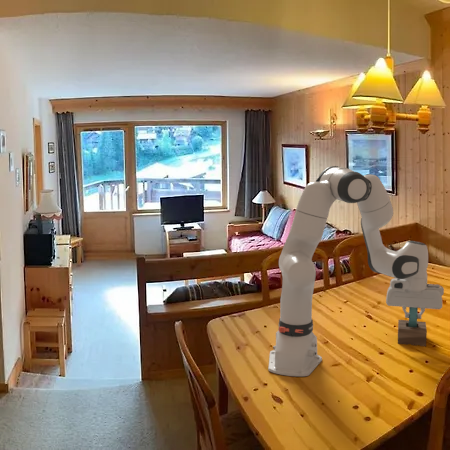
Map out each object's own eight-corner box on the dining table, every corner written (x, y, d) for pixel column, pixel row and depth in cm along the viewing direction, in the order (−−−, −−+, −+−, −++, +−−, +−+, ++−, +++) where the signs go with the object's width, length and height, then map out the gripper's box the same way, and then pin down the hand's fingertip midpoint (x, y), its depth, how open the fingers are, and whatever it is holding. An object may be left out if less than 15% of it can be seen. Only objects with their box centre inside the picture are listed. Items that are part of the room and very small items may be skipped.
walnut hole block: (425, 346, 199) (426, 331, 198) (397, 343, 202) (398, 328, 201) (424, 336, 208) (425, 322, 207) (397, 334, 211) (398, 319, 210)
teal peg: (416, 331, 202) (418, 305, 200) (408, 330, 203) (409, 305, 201) (416, 328, 205) (417, 303, 203) (408, 327, 206) (409, 302, 204)
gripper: (443, 282, 201) (441, 317, 203) (386, 279, 207) (385, 313, 209) (445, 287, 195) (443, 323, 197) (386, 283, 201) (385, 318, 203)
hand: (413, 318), depth 203 cm, fingers closed on teal peg, 3 cm apart
